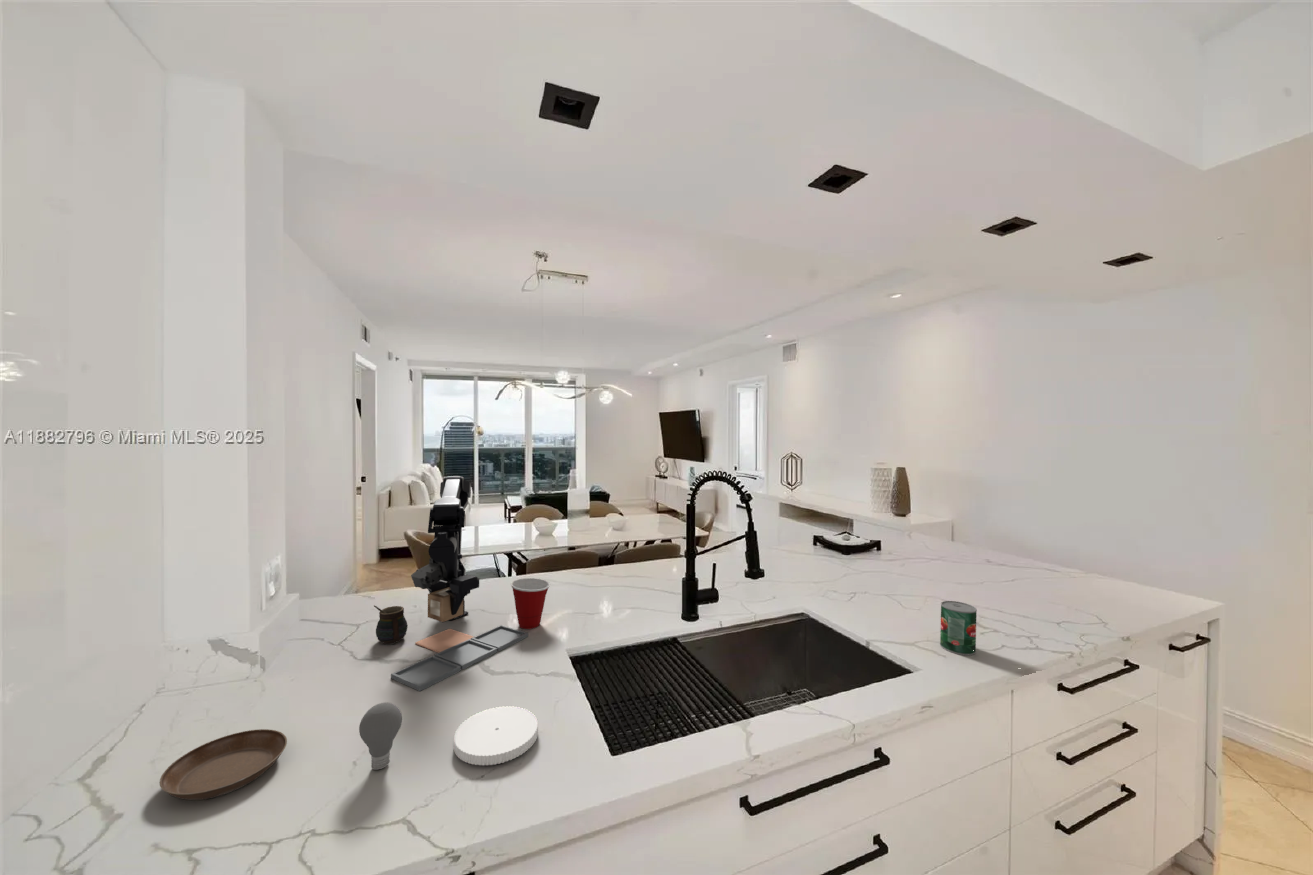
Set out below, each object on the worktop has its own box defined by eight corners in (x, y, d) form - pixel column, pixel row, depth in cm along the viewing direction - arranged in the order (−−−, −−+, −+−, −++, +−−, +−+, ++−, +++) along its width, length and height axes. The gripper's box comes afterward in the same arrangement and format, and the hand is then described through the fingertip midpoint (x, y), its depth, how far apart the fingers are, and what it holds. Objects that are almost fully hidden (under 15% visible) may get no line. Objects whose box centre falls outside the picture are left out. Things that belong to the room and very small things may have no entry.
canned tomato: (981, 657, 119) (982, 613, 119) (946, 653, 121) (948, 610, 120) (967, 643, 127) (968, 602, 127) (935, 640, 128) (936, 599, 128)
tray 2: (434, 658, 113) (434, 654, 113) (469, 642, 122) (469, 639, 122) (462, 669, 108) (462, 665, 108) (496, 652, 117) (496, 648, 117)
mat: (415, 644, 121) (415, 642, 121) (449, 630, 129) (449, 628, 129) (440, 653, 116) (440, 651, 116) (474, 638, 125) (474, 636, 125)
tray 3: (470, 642, 122) (470, 638, 122) (501, 628, 131) (501, 624, 131) (498, 651, 117) (498, 647, 117) (527, 636, 126) (527, 632, 126)
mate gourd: (412, 640, 123) (412, 602, 123) (379, 650, 117) (379, 610, 117) (402, 631, 128) (401, 594, 127) (370, 641, 122) (370, 602, 122)
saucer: (307, 742, 83) (307, 726, 83) (240, 810, 68) (240, 791, 68) (217, 745, 82) (217, 729, 82) (128, 814, 67) (128, 795, 67)
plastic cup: (549, 631, 130) (550, 587, 129) (508, 634, 127) (508, 589, 127) (550, 616, 140) (550, 575, 140) (512, 618, 138) (512, 577, 138)
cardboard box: (427, 617, 121) (427, 593, 121) (448, 609, 127) (448, 587, 127) (442, 622, 118) (442, 598, 118) (463, 614, 124) (463, 591, 124)
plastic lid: (539, 762, 79) (540, 747, 79) (448, 778, 75) (448, 763, 75) (536, 714, 92) (536, 701, 92) (458, 725, 88) (458, 712, 88)
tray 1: (391, 678, 104) (391, 673, 104) (432, 659, 113) (432, 655, 113) (419, 691, 99) (419, 686, 99) (460, 670, 108) (460, 666, 108)
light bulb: (370, 754, 80) (371, 695, 80) (407, 753, 80) (408, 694, 80) (350, 781, 74) (351, 716, 74) (391, 779, 74) (391, 715, 74)
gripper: (394, 553, 120) (393, 614, 120) (442, 564, 111) (441, 631, 111) (433, 544, 130) (433, 601, 130) (481, 554, 121) (480, 615, 121)
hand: (445, 612), depth 123 cm, fingers closed on cardboard box, 6 cm apart
